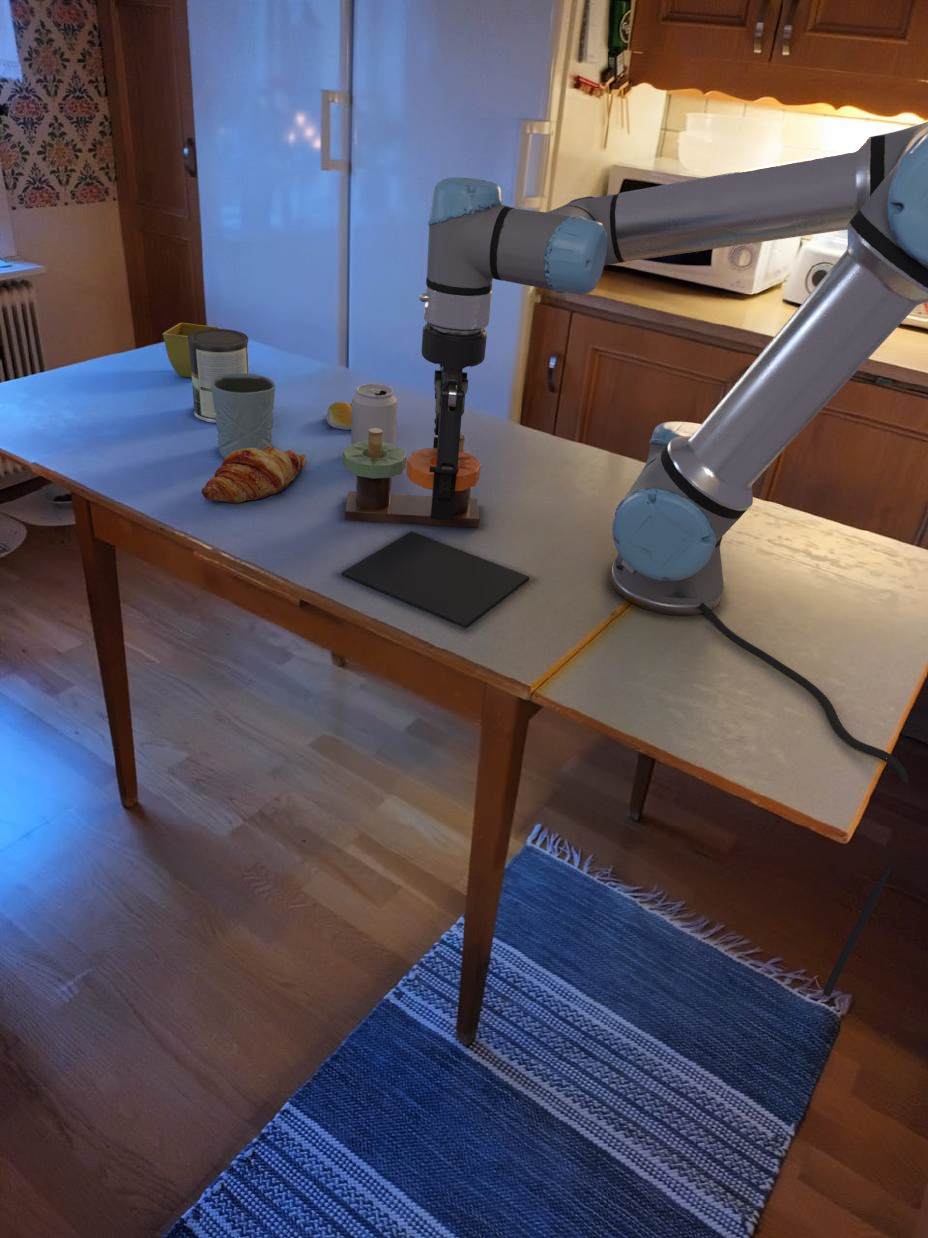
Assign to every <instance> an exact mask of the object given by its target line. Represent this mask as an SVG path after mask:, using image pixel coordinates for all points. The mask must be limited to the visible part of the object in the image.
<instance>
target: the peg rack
mask: <svg viewBox="0 0 928 1238" xmlns="http://www.w3.org/2000/svg"><path fill="white" fill-rule="evenodd" d="M465 440H466V436H465V435H464V434H462V433H460V442H459V450H460V451H463V452H465ZM368 457H370V458H382V430H381V429H379V428H371V429H369V436H368ZM392 477H393V476H392ZM392 477H389V478H367V477H362V476H357V475H356V482H355V485H356V486H355V487H356V488H355V490H356V491H352V490H351V491H349V490H348V492H347V497H346V503H345V509H344V521H357V522H369V523H371V522H373V523H390V524H406V525H424V526H437V527H438V526H439V527H454V528H455V527H458V528H473V529H479V528H480V527H479V526H480V513H479V512H480V511H479V503H478V499H477V498H471V492H472V487H471V488H468V489H465V490H463V491H455V498H454V509H453V520H439V519H431V507H432V495H418V494H417V495H416V494H400V493H398V494H397V493H392Z"/></svg>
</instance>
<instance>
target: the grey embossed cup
mask: <svg viewBox="0 0 928 1238" xmlns="http://www.w3.org/2000/svg"><path fill="white" fill-rule="evenodd" d="M211 389H212V395H213V402H214V409H215V412H216V417H215V419H216V423H215V426H216V431H217V443H218V451H219V455H220V456H221V457H223V459H225V457H227V456H228V455H230V454H231V453H232V452H233V451H236V450H239V449H244V448H256V449H259V450H261V451H262V450H263V449H264V448H266V447H272V443H273V441H272V439H273V438H272V436H273V435H272V432H273V431H272V430H273V425H274V424H273V423H274V409H275V406H274V404H275V397H276V396H275V395H276V383H275V381H274V380H272V378H269V377H267V376H264V375H260V374H255V373H253V374H252V373H249V374H226V375H222V376H218V377H216V378H214V379H213V380H212V381H211Z"/></svg>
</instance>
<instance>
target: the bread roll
mask: <svg viewBox="0 0 928 1238" xmlns="http://www.w3.org/2000/svg"><path fill="white" fill-rule="evenodd" d="M325 419H326V422H327V424H328V425H329V426H330V427H331V428H334V429H338V430H343V431H344V430H346V431H349V430H350V431H351V424H352V402H350V403H347V402H342V401H336V402H333V403H331V405H329V406H328V409H327V412H326V416H325Z"/></svg>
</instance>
